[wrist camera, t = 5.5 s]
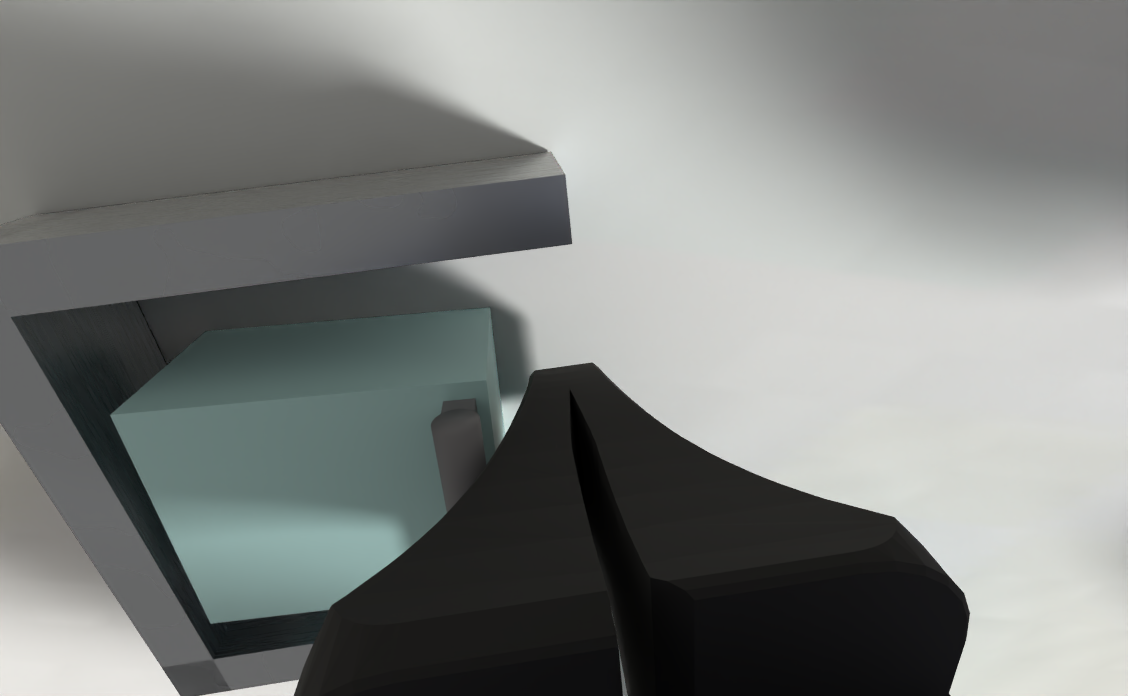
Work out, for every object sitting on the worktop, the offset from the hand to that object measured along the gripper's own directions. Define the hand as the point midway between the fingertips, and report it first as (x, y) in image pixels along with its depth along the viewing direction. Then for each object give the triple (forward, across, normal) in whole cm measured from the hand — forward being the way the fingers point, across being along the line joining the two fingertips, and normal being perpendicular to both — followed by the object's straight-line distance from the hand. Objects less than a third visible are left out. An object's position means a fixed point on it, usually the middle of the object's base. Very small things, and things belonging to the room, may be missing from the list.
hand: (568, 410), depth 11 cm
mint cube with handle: (+1, +4, 0) cm, 4 cm away
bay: (+1, +4, 0) cm, 4 cm away
